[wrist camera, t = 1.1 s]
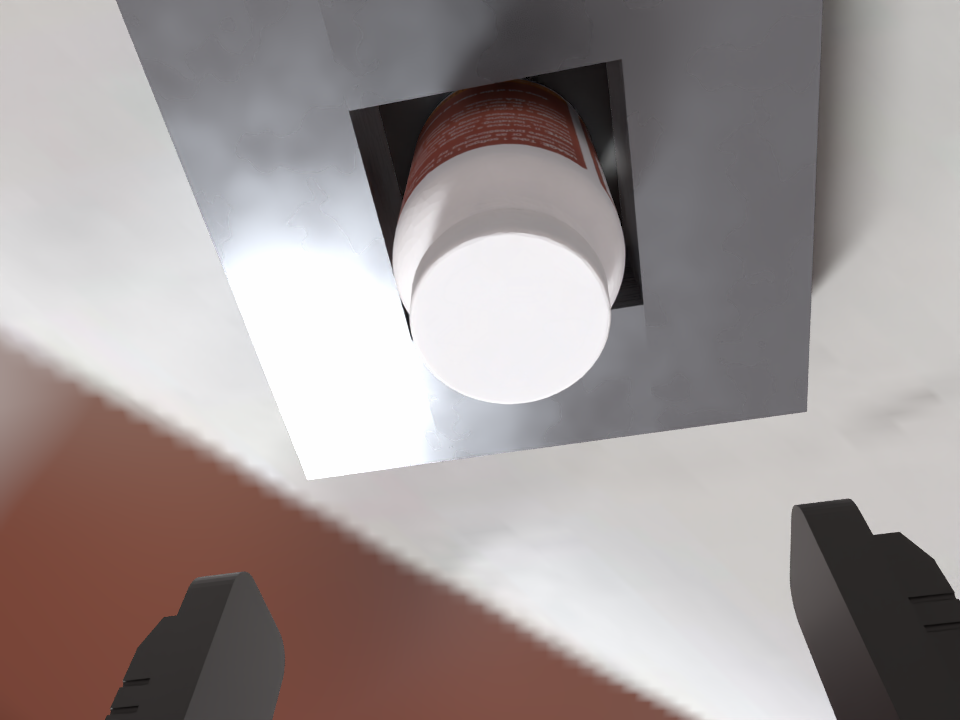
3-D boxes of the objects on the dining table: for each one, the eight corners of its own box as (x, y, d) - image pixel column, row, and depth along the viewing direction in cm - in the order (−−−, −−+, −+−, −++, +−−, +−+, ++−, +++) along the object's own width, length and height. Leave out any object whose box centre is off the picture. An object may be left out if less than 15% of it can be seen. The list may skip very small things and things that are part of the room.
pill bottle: (378, 166, 28) (318, 326, 18) (501, 29, 25) (505, 134, 16) (505, 277, 30) (510, 470, 20) (630, 161, 27) (701, 321, 18)
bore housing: (157, -71, 24) (93, -57, 20) (772, -209, 22) (831, -223, 18) (329, 408, 33) (307, 479, 29) (768, 343, 31) (806, 411, 27)
